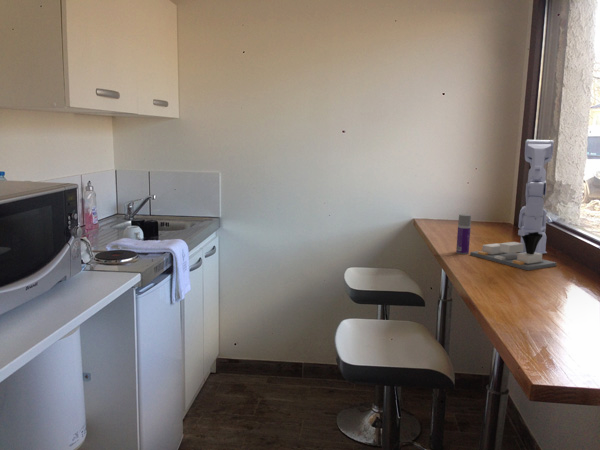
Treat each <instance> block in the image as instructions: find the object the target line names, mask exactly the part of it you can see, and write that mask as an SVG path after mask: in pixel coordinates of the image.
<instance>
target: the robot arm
mask: <svg viewBox="0 0 600 450" xmlns="http://www.w3.org/2000/svg"><path fill="white" fill-rule="evenodd" d="M554 143H555V141H554V140H553V139H550V140H549V139H526V140H525V144H524V160H525V162H527V163H529V165H530V169H528V175H527V183H526V184H525V192H524V193H525V205H524V206H523V207H522V208H521V209H520V211H519V215H518V226H517V227H518V228H519V229H518V231H517V232H518V233H517V235H518V236H520V242H519V243H522V244H524V250H523V251H522V252H519V253H524V252H526V253H527V254H534V252H537V253H541V254H547V253H548V252H547V251H546V249H547V248H546V246H547V235H546V231H547V230H546V229H547V216H548V215H547V211H546V209H545V208H544V204H545V203H544V202H545V199H546V196H547V187H548V184H547V180H546V179H547V170H546V169H545V168H544V167H545V165H546V164H548V163H551V161H552V157H553V155H554V145H555V144H554Z"/></svg>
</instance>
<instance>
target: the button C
mask: <svg viewBox="0 0 600 450" xmlns="http://www.w3.org/2000/svg"><path fill="white" fill-rule="evenodd" d="M517 253H518V257H517V260H518V261H522V262H524V263H527V264H529V263H536V262H542V259H543V254H544V253H543V254H541V253H537V252H534V254H527V253H526V252H524V253H520V252H517Z"/></svg>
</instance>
